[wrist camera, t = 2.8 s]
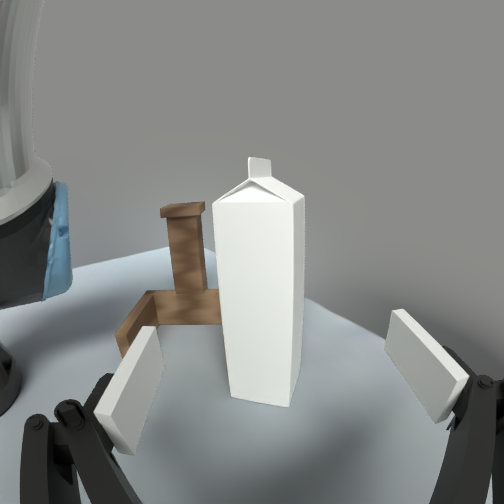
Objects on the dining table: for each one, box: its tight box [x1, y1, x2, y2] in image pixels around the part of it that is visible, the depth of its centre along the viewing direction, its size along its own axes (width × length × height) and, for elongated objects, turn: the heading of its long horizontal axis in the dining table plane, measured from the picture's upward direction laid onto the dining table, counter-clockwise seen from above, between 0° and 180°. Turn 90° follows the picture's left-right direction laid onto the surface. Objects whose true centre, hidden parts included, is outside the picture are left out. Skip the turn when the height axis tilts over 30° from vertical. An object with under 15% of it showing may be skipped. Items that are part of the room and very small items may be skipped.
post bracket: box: [115, 202, 228, 372], centre depth 34 cm, size 14×16×17 cm
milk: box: [212, 157, 305, 407], centre depth 24 cm, size 6×6×22 cm
